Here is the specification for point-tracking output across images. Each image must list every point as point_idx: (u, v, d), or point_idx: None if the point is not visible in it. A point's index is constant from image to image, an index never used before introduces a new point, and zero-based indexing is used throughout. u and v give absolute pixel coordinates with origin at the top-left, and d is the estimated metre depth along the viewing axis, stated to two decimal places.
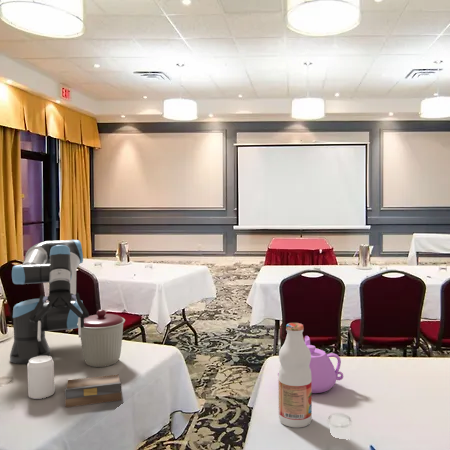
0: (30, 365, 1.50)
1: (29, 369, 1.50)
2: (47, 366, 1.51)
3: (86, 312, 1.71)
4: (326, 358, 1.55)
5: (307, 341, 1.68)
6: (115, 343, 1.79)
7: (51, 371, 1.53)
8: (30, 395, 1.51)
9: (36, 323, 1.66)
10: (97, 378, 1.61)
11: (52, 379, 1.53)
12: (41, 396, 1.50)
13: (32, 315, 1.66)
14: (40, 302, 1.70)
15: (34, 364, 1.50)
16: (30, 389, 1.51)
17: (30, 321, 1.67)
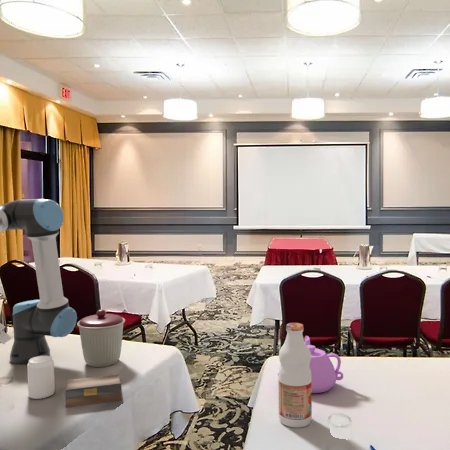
0: (30, 365, 1.50)
1: (29, 369, 1.50)
2: (47, 366, 1.51)
3: None
4: (326, 358, 1.55)
5: (307, 341, 1.68)
6: (115, 343, 1.79)
7: (51, 371, 1.53)
8: (30, 395, 1.51)
9: None
10: (97, 378, 1.61)
11: (52, 379, 1.53)
12: (41, 396, 1.50)
13: None
14: None
15: (34, 364, 1.50)
16: (30, 389, 1.51)
17: None
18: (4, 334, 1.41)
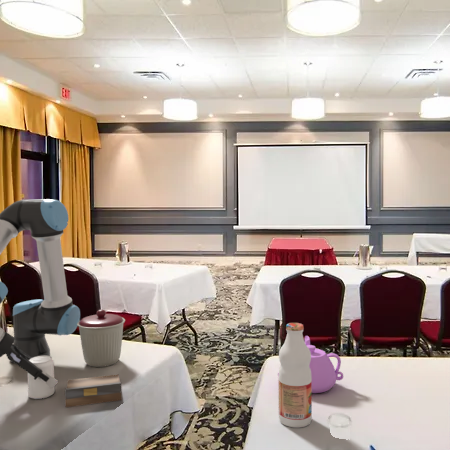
0: None
1: None
2: (47, 365, 1.51)
3: (33, 376, 1.47)
4: (326, 358, 1.55)
5: (307, 341, 1.68)
6: (115, 343, 1.79)
7: (51, 371, 1.53)
8: (30, 395, 1.51)
9: None
10: (97, 378, 1.61)
11: None
12: (41, 396, 1.50)
13: None
14: None
15: (34, 364, 1.50)
16: (30, 389, 1.51)
17: None
18: (52, 379, 1.52)
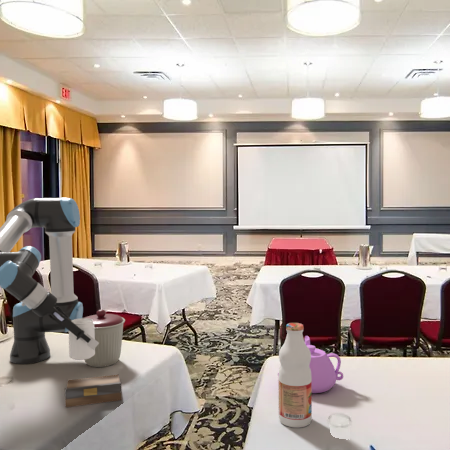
0: None
1: None
2: (89, 327, 1.51)
3: (76, 336, 1.47)
4: (326, 358, 1.55)
5: (307, 341, 1.68)
6: (115, 343, 1.79)
7: (92, 333, 1.53)
8: (71, 356, 1.51)
9: None
10: (97, 378, 1.61)
11: None
12: (82, 357, 1.50)
13: None
14: None
15: None
16: (71, 350, 1.51)
17: None
18: (94, 340, 1.52)
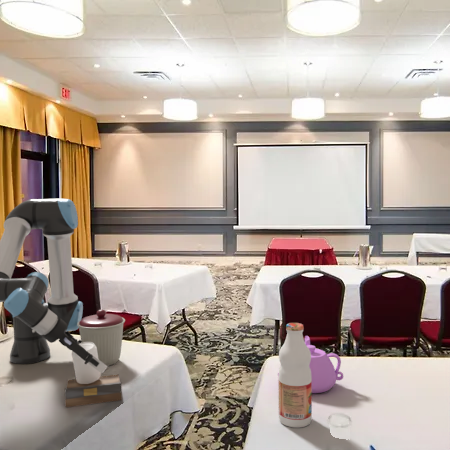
0: (75, 354, 1.53)
1: (74, 358, 1.54)
2: (91, 353, 1.54)
3: None
4: (326, 358, 1.55)
5: (307, 341, 1.68)
6: (115, 343, 1.79)
7: None
8: (78, 381, 1.55)
9: None
10: None
11: None
12: (89, 381, 1.55)
13: None
14: None
15: None
16: (77, 376, 1.55)
17: (76, 340, 1.63)
18: (102, 364, 1.50)
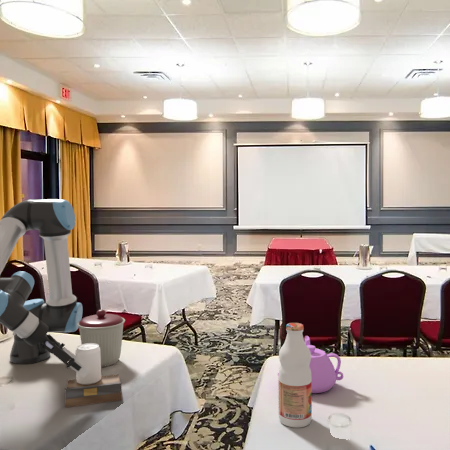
0: (79, 352, 1.55)
1: (78, 356, 1.55)
2: (95, 352, 1.56)
3: None
4: (326, 358, 1.55)
5: (307, 341, 1.68)
6: (115, 343, 1.79)
7: (98, 358, 1.57)
8: (79, 381, 1.56)
9: None
10: None
11: (99, 365, 1.58)
12: (89, 382, 1.55)
13: None
14: None
15: (83, 351, 1.55)
16: (79, 375, 1.55)
17: (59, 344, 1.59)
18: (84, 368, 1.47)
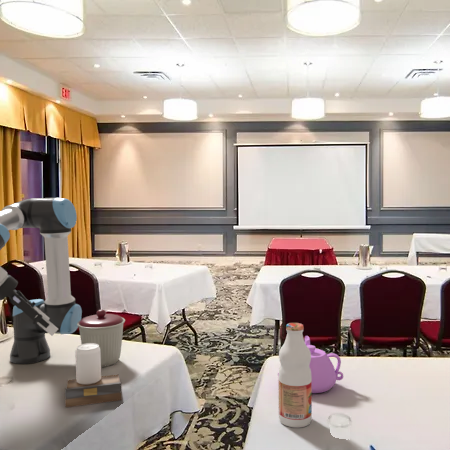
0: (79, 352, 1.55)
1: (78, 356, 1.55)
2: (95, 352, 1.56)
3: (33, 320, 1.38)
4: (326, 358, 1.55)
5: (307, 341, 1.68)
6: (115, 343, 1.79)
7: (98, 358, 1.57)
8: (79, 381, 1.56)
9: None
10: None
11: (99, 365, 1.58)
12: (89, 382, 1.55)
13: None
14: None
15: (83, 351, 1.55)
16: (79, 375, 1.55)
17: None
18: (52, 326, 1.43)
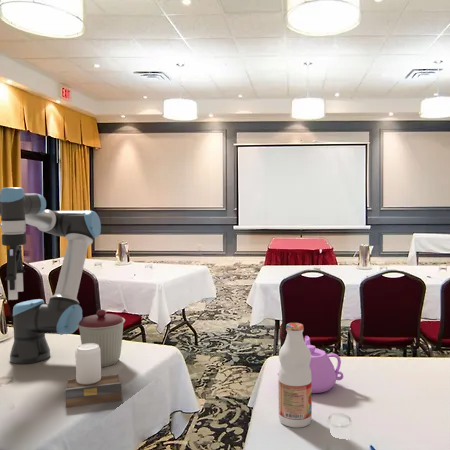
0: (79, 352, 1.55)
1: (78, 356, 1.55)
2: (95, 352, 1.56)
3: None
4: (326, 358, 1.55)
5: (307, 341, 1.68)
6: (115, 343, 1.79)
7: (98, 358, 1.57)
8: (79, 381, 1.56)
9: None
10: None
11: (99, 365, 1.58)
12: (89, 382, 1.55)
13: None
14: None
15: (83, 351, 1.55)
16: (79, 375, 1.55)
17: (22, 269, 1.69)
18: (15, 293, 1.53)
